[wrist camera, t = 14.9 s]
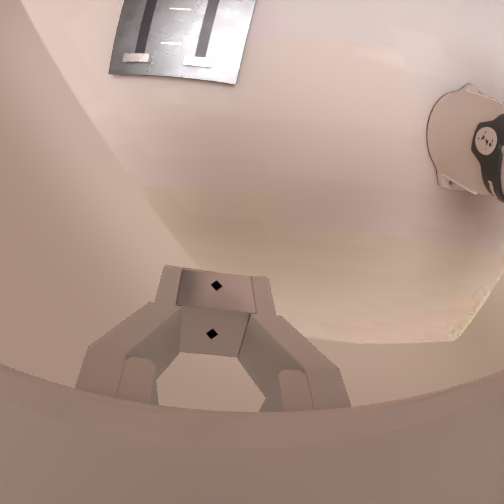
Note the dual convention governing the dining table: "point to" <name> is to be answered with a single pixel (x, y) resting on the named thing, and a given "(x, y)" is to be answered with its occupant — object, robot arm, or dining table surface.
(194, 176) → the dining table surface
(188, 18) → the console
